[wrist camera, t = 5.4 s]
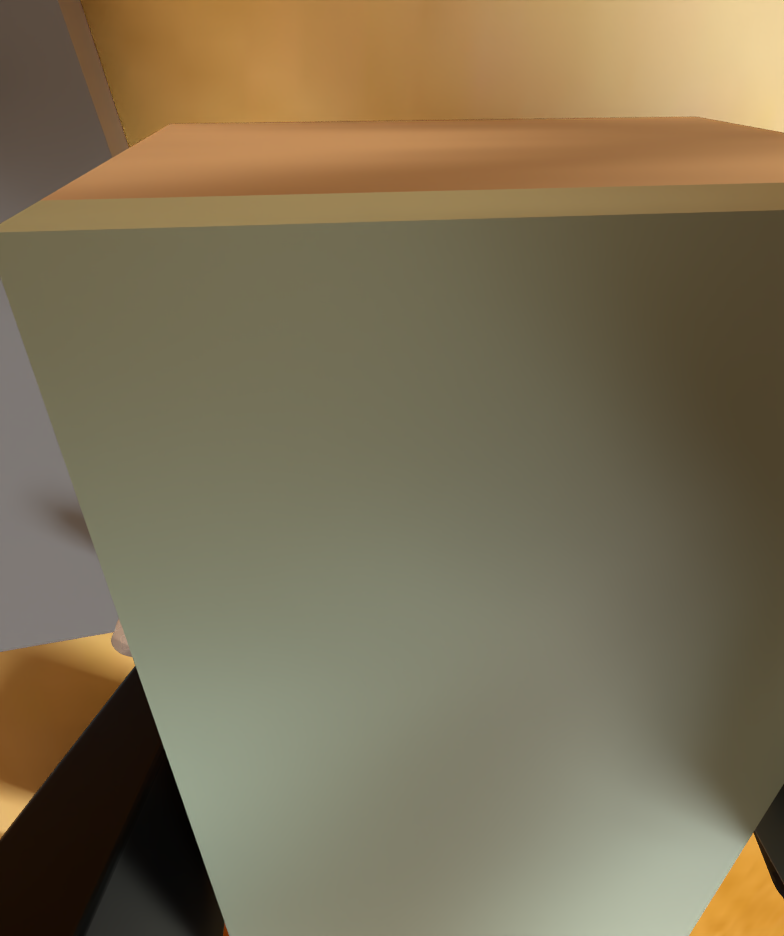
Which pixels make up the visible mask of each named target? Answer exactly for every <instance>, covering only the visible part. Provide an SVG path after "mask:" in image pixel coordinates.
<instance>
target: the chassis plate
mask: <svg viewBox="0 0 784 936" xmlns="http://www.w3.org/2000/svg"><path fill="white" fill-rule="evenodd" d="M128 148H129V147H128V144H127V141H126V138H125V135H124V132H123V128H122V125H121V122H120V119H119V116H118V113H117V110H116V107H115V104H114V101H113V98H112V95H111V92H110V89H109V86H108V83H107V80H106V77H105V74H104V71H103V68H102V65H101V62H100V59H99V56H98V53H97V50H96V47H95V44H94V41H93V38H92V35H91V32H90V29H89V26H88V23H87V20H86V17H85V14H84V11H83V8H82V5H81V2H80V0H0V224H1V223H2V222H4V221H6V220H8V219H9V218H11V217H13V216H14V215H16V214H18V213H19V212H21V211H23V210H25V209H26V208H28V207H30V206H31V205H33V204H35V203H36V202H38V201H40V200H42V199H43V198H45V197H47V196H48V195H50V194H52V193H53V192H55V191H57V190H58V189H60V188H62V187H64V186H65V185H67V184H69V183H70V182H72V181H74V180H75V179H77V178H79V177H81V176H82V175H84V174H86V173H87V172H89V171H91V170H92V169H94V168H96V167H98V166H99V165H101V164H103V163H104V162H106V161H108V160H109V159H111V158H113V157H115V156H116V155H118V154H120V153H121V152H123V151H125V150H126V149H128ZM118 618H119V617H118V614H117V611H116V608H115V605H114V602H113V600H112V597H111V594H110V591H109V588H108V585H107V582H106V579H105V577H104V574H103V571H102V568H101V565H100V562H99V559H98V556H97V554H96V551H95V548H94V545H93V542H92V539H91V536H90V533H89V531H88V528H87V525H86V522H85V519H84V516H83V513H82V510H81V508H80V505H79V502H78V499H77V496H76V493H75V490H74V487H73V485H72V482H71V479H70V476H69V473H68V470H67V467H66V465H65V462H64V459H63V456H62V453H61V450H60V447H59V444H58V442H57V439H56V436H55V433H54V430H53V427H52V424H51V421H50V419H49V416H48V413H47V410H46V407H45V404H44V401H43V398H42V396H41V393H40V390H39V387H38V384H37V381H36V378H35V375H34V373H33V370H32V367H31V364H30V361H29V358H28V355H27V352H26V350H25V347H24V344H23V341H22V338H21V335H20V332H19V329H18V327H17V324H16V321H15V318H14V315H13V312H12V309H11V306H10V304H9V301H8V298H7V295H6V292H5V289H4V286H3V283H2V281H1V278H0V652H2V651H8V650H14V649H19V648H25V647H31V646H37V645H42V644H48V643H54V642H60V641H65V640H71V639H77V638H82V637H88V636H94V635H100V634H105V633H111V632H114V630H115V627H116V624H117V621H118Z"/></svg>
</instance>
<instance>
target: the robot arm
mask: <svg viewBox="0 0 784 936" xmlns="http://www.w3.org/2000/svg"><path fill="white" fill-rule="evenodd" d="M754 835H755V837H756V840H757V842H758V845H759V848H760V850H761V853H762V855H763V858H764V860H765V863H766V865H767V868H768V871H769V873H770V876H771V878H772V881H773V883H774V885H775V887H776V889H777V890H778V892H779V893H780V894H781V896H782V897H783V899H784V784H783V786H782V787H781V789H780V790H779V792H778V794H777V795H776V797H775V798H774V800H773V802H772V803H771V805H770V806H769V808H768V810H767V811H766V813H765V814H764V816H763V818H762V819H761V821H760V822H759V824H758V826H757V827H756V829H755V830H754ZM223 930H224V919H223V916H222V913H221V910H220V907H219V904H218V901H217V898H216V896H215V893H214V890H213V887H212V884H211V881H210V878H209V875H208V873H207V870H206V867H205V864H204V861H203V858H202V855H201V852H200V850H199V847H198V844H197V841H196V838H195V835H194V832H193V829H192V827H191V824H190V821H189V818H188V815H187V812H186V809H185V806H184V804H183V801H182V798H181V795H180V792H179V789H178V786H177V783H176V781H175V778H174V775H173V772H172V769H171V766H170V763H169V760H168V758H167V755H166V752H165V749H164V746H163V743H162V740H161V737H160V735H159V732H158V729H157V726H156V723H155V720H154V717H153V715H152V712H151V709H150V706H149V703H148V700H147V697H146V694H145V692H144V689H143V686H142V683H141V680H140V677H139V674H138V671H137V669H136V666H135V667H134V668H133V669H132V671H131V672H130V673H129V674H128V676H127V677H126V678H125V680H124V681H123V682H122V683H121V685H120V686H119V687H118V689H117V690H116V691H115V692H114V694H113V695H112V696H111V698H110V699H109V700H108V701H107V703H106V704H105V705H104V707H103V708H102V709H101V710H100V712H99V713H98V714H97V715H96V717H95V718H94V719H93V721H92V722H91V723H90V724H89V726H88V727H87V728H86V730H85V731H84V732H83V733H82V735H81V736H80V737H79V739H78V740H77V741H76V742H75V744H74V745H73V746H72V748H71V749H70V750H69V751H68V753H67V754H66V755H65V756H64V758H63V759H62V760H61V762H60V763H59V764H58V765H57V767H56V768H55V769H54V771H53V772H52V773H51V774H50V776H49V777H48V778H47V780H46V781H45V782H44V783H43V785H42V786H41V787H40V789H39V790H38V791H37V792H36V794H35V795H34V796H33V797H32V799H31V800H30V801H29V803H28V804H27V805H26V806H25V808H24V809H23V810H22V812H21V813H20V814H19V815H18V817H17V818H16V819H15V821H14V822H13V823H12V824H11V826H10V827H9V828H8V830H7V831H6V832H5V833H4V835H3V836H2V837H1V838H0V936H223Z"/></svg>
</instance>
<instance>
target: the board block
mask: <svg viewBox="0 0 784 936" xmlns="http://www.w3.org/2000/svg"><path fill="white" fill-rule="evenodd" d="M0 278H1V281H2V283H3V286H4V289H5V292H6V295H7V298H8V301H9V304H10V306H11V309H12V312H13V315H14V318H15V321H16V324H17V327H18V329H19V332H20V335H21V338H22V341H23V344H24V347H25V350H26V352H27V355H28V358H29V361H30V364H31V367H32V370H33V373H34V375H35V378H36V381H37V384H38V387H39V390H40V393H41V396H42V398H43V401H44V404H45V407H46V410H47V413H48V416H49V419H50V421H51V424H52V427H53V430H54V433H55V436H56V439H57V442H58V444H59V447H60V450H61V453H62V456H63V459H64V462H65V465H66V467H67V470H68V473H69V476H70V479H71V482H72V485H73V487H74V490H75V493H76V496H77V499H78V502H79V505H80V508H81V510H82V513H83V516H84V519H85V522H86V525H87V528H88V531H89V533H90V536H91V539H92V542H93V545H94V548H95V551H96V554H97V556H98V559H99V562H100V565H101V568H102V571H103V574H104V577H105V579H106V582H107V585H108V588H109V591H110V594H111V597H112V600H113V602H114V605H115V608H116V611H117V614H118V617H119V620H120V623H121V625H122V628H123V631H124V634H125V637H126V640H127V643H128V646H129V648H130V651H131V654H132V657H133V660H134V663H135V666H136V669H137V671H138V674H139V677H140V680H141V683H142V686H143V689H144V692H145V694H146V697H147V700H148V703H149V706H150V709H151V712H152V715H153V717H154V720H155V723H156V726H157V729H158V732H159V735H160V737H161V740H162V743H163V746H164V749H165V752H166V755H167V758H168V760H169V763H170V766H171V769H172V772H173V775H174V778H175V781H176V783H177V786H178V789H179V792H180V795H181V798H182V801H183V804H184V806H185V809H186V812H187V815H188V818H189V821H190V824H191V827H192V829H193V832H194V835H195V838H196V841H197V844H198V847H199V850H200V852H201V855H202V858H203V861H204V864H205V867H206V870H207V873H208V875H209V878H210V881H211V884H212V887H213V890H214V893H215V896H216V898H217V901H218V904H219V907H220V910H221V913H222V916H223V919H224V921H225V924H226V927H227V930H228V933H229V936H689V935H690V933H691V931H692V930H693V928H694V927H695V925H696V923H697V922H698V920H699V919H700V917H701V915H702V914H703V912H704V911H705V909H706V907H707V906H708V904H709V903H710V901H711V899H712V898H713V896H714V895H715V893H716V891H717V890H718V888H719V887H720V885H721V883H722V882H723V880H724V878H725V877H726V875H727V874H728V872H729V870H730V869H731V867H732V866H733V864H734V862H735V861H736V859H737V858H738V856H739V854H740V853H741V851H742V850H743V848H744V846H745V845H746V843H747V842H748V840H749V838H750V837H751V835H752V834H753V832H754V830H755V829H756V827H757V826H758V824H759V822H760V821H761V819H762V818H763V816H764V814H765V813H766V811H767V810H768V808H769V806H770V805H771V803H772V802H773V800H774V798H775V797H776V795H777V794H778V792H779V790H780V789H781V787H782V786H783V784H784V133H782V132H777V131H771V130H766V129H760V128H755V127H750V126H744V125H739V124H733V123H728V122H722V121H717V120H711V119H706V118H700V117H635V118H561V119H486V120H412V121H337V122H263V123H188V124H169V125H167V126H165V127H164V128H162V129H160V130H159V131H157V132H155V133H154V134H152V135H150V136H148V137H147V138H145V139H143V140H142V141H140V142H138V143H137V144H135V145H133V146H132V147H130V148H128V149H126V150H125V151H123V152H121V153H120V154H118V155H116V156H115V157H113V158H111V159H109V160H108V161H106V162H104V163H103V164H101V165H99V166H98V167H96V168H94V169H92V170H91V171H89V172H87V173H86V174H84V175H82V176H81V177H79V178H77V179H75V180H74V181H72V182H70V183H69V184H67V185H65V186H64V187H62V188H60V189H58V190H57V191H55V192H53V193H52V194H50V195H48V196H47V197H45V198H43V199H42V200H40V201H38V202H36V203H35V204H33V205H31V206H30V207H28V208H26V209H25V210H23V211H21V212H19V213H18V214H16V215H14V216H13V217H11V218H9V219H8V220H6V221H4V222H2V223H1V224H0Z"/></svg>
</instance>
